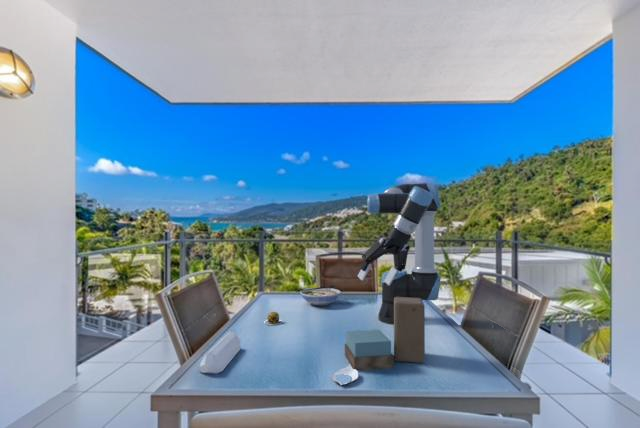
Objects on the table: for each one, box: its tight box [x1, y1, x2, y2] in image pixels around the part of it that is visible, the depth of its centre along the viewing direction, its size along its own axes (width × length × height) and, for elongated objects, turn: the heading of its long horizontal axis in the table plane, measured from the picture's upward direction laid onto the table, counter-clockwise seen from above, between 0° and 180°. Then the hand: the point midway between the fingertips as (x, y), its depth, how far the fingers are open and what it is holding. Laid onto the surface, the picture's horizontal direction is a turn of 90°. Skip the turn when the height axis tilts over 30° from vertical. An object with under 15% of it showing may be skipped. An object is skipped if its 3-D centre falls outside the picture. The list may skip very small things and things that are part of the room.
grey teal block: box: [345, 329, 392, 357], centre depth 119 cm, size 12×12×4 cm
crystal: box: [198, 330, 242, 374], centre depth 120 cm, size 7×7×24 cm
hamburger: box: [263, 311, 284, 326], centre depth 163 cm, size 12×12×6 cm
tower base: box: [344, 343, 394, 372], centre depth 119 cm, size 13×13×4 cm
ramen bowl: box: [297, 285, 341, 307], centre depth 198 cm, size 25×23×8 cm
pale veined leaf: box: [331, 363, 359, 386], centre depth 106 cm, size 8×12×2 cm, turn 163°
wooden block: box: [393, 297, 426, 364], centre depth 123 cm, size 10×10×20 cm
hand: (373, 281), depth 126 cm, fingers open, 13 cm apart
